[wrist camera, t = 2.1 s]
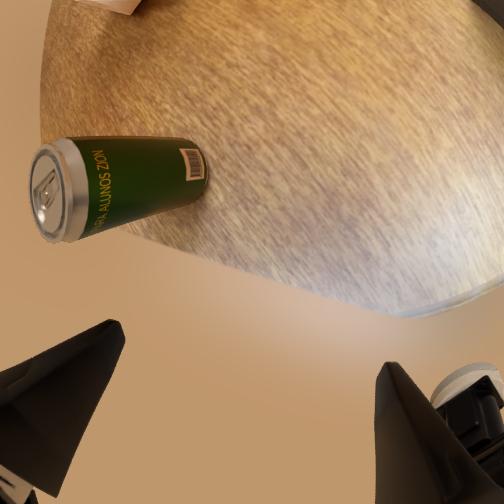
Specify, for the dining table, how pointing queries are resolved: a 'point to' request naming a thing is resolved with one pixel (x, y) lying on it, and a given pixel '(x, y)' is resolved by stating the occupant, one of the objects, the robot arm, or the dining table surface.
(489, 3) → the grey open square box
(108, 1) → the mug
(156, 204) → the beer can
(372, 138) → the dining table surface
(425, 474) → the robot arm
